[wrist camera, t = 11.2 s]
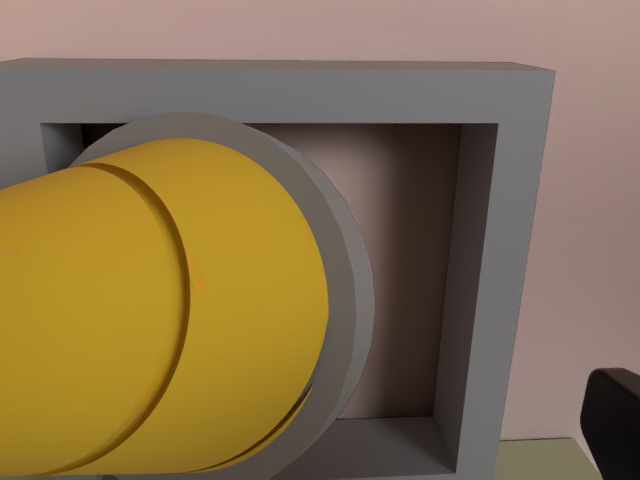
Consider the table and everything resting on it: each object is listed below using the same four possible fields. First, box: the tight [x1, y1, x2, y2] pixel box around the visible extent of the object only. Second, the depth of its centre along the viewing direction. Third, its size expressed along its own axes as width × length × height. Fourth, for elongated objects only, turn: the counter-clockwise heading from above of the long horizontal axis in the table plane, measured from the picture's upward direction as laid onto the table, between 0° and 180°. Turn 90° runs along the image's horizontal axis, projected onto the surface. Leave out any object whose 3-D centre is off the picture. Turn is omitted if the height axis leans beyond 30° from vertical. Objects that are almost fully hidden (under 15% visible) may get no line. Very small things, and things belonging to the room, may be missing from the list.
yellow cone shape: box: [0, 112, 375, 480], centre depth 7 cm, size 5×5×10 cm
